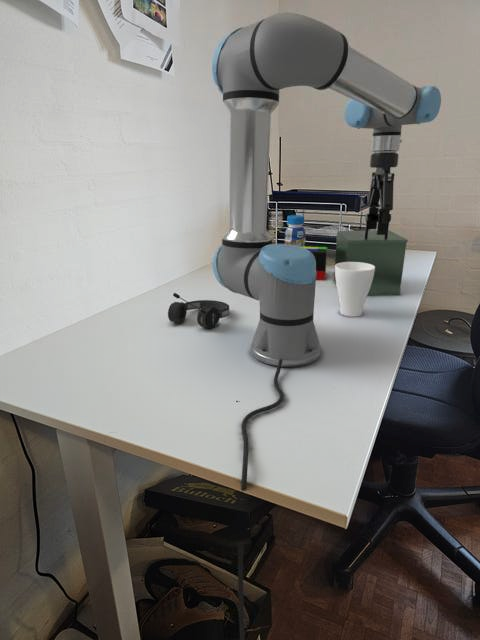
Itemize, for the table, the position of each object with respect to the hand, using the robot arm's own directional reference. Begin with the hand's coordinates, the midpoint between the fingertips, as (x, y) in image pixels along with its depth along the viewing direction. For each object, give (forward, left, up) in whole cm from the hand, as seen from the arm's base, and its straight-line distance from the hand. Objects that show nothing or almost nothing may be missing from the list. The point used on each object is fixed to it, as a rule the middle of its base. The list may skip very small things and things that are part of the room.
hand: (376, 231), depth 122 cm
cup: (-18, +10, -20) cm, 29 cm away
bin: (+7, 0, -20) cm, 21 cm away
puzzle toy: (+22, +16, -20) cm, 34 cm away
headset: (-23, +52, -20) cm, 60 cm away
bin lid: (+7, 0, -3) cm, 7 cm away
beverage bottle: (+39, +21, -20) cm, 49 cm away
